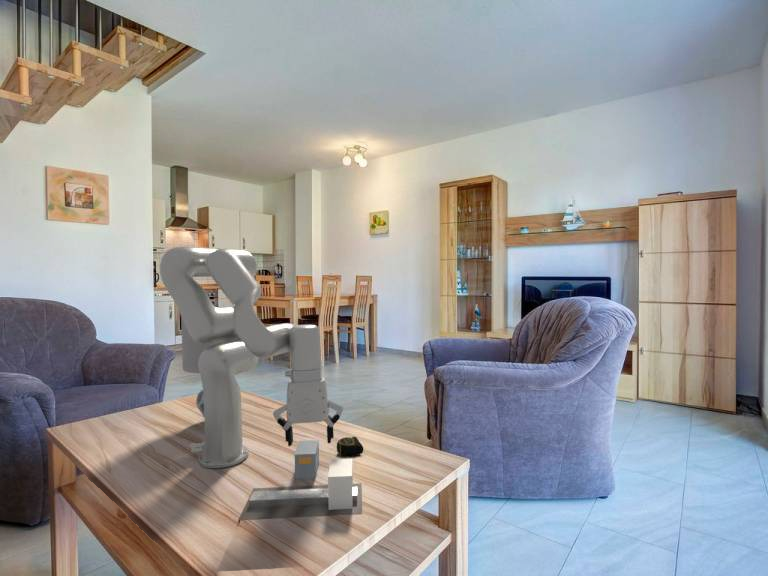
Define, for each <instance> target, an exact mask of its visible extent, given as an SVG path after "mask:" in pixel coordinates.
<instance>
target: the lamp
mask: <svg viewBox="0 0 768 576" xmlns="http://www.w3.org/2000/svg"><path fill="white" fill-rule="evenodd" d="M180 319H181V320H180V321H181V323H180V324H181V348H182V349H181V351H182V352H181V354H182V370H183V371H184V372H185V373H186V372H187V373H192V374H200V371H199V366H198V361H199V357H200V355H201V353H202V352H203V351H204V350H205V349H207V348H208V347H210V346H213V345H216V344H220V343H224V342H223V340H219V341H215V342H210V343H197V342H195V341H194V340H193V339H192V337H191V335H190V333H189V331H188V329H187V327H186V325H185V323H184V321H183V319H182V317H181V316H180ZM201 388H203V385H202V384H201ZM196 395H197V396H196V400H195V401H196V402H195V404H196V406H197V409H198V410H199V412H200V413H201V415H202V417H204V396H203V389H202V390H200V391H199V392H198V393H197V394H196ZM203 423H204V424H205V421H204V422H203Z"/></svg>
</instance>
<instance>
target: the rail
mask: <svg viewBox="0 0 768 576" xmlns="http://www.w3.org/2000/svg"><path fill="white" fill-rule="evenodd" d="M249 497H250V496H249ZM352 498H353V502H357V487H353V494H352ZM248 499H249V498H248ZM311 504H329V502H328V488H322V489H300V490H279V491H257V492H253V493H252V495H251V497H250V499H249V507H270V506H290V505H311Z"/></svg>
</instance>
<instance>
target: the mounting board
mask: <svg viewBox="0 0 768 576" xmlns="http://www.w3.org/2000/svg"><path fill="white" fill-rule="evenodd" d="M353 487H357V502H353V509H333V510H329V504H311V505H290V506H270V507H249V499H250V497H251V495H252V493H253V492H257V491H279V490H300V489H322V488H328V484H318V485H317V484H316V485H298V486H297V485H296V486H295V485H294V486H277V487H276V486H273V487H256V488H255V487H253V488H252V491H251V492H250V494H249V496H248V498H247V501H246V503H245V506H244V507H243V509H242V511H241V514H240V516H239V517H238V519H237V520H238V521H237V522H238V525H240V523H241V521H249V520H251V521H252V520H270V519H272V520H273V519H286V518H287V519H288V518H289V519H290V518H306V517H307V518H309V517H326V516H327V517H329V516H332V517H333V516H347V515H348V516H349V515H362V514H363V496H362V495H363V493H362V492H363V489H362V488H363V486H362V483H359V482H357V483H353Z"/></svg>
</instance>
